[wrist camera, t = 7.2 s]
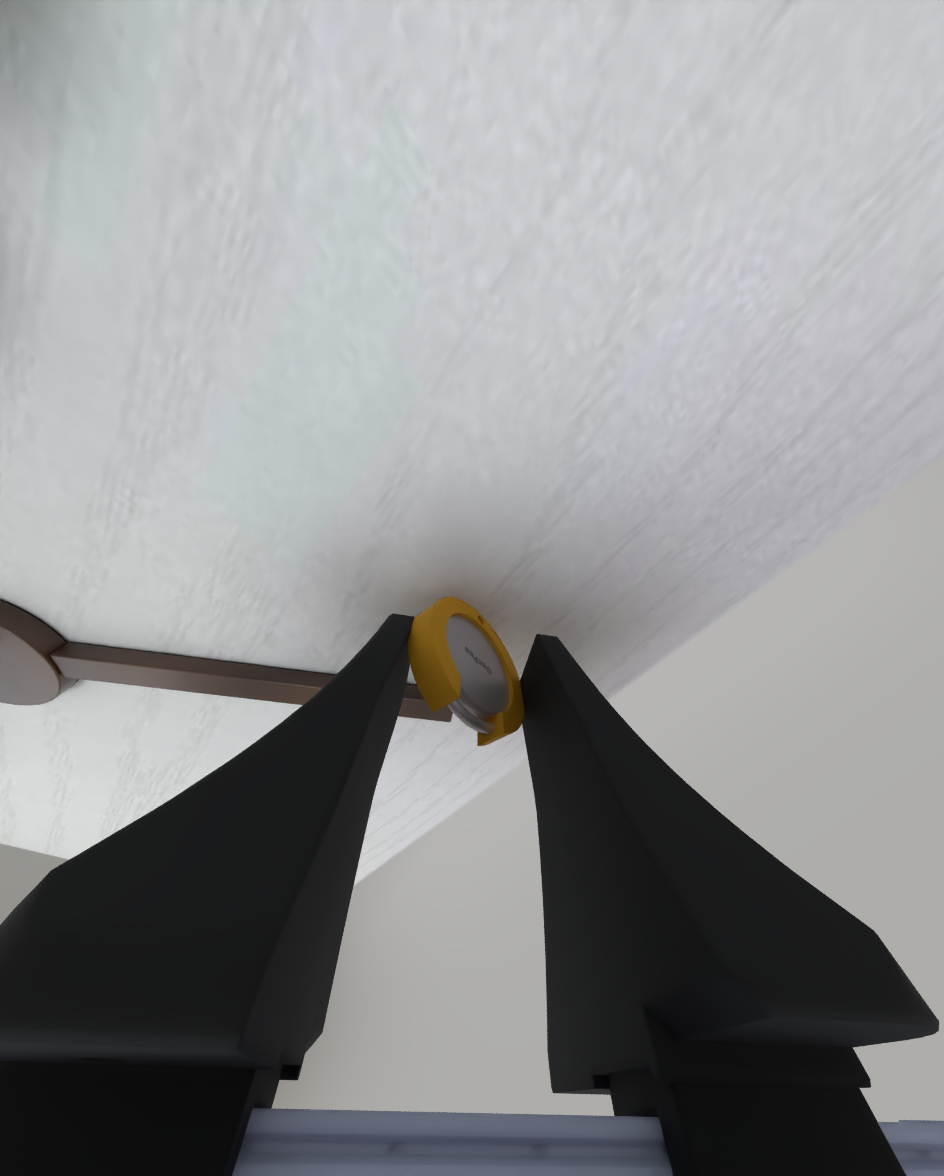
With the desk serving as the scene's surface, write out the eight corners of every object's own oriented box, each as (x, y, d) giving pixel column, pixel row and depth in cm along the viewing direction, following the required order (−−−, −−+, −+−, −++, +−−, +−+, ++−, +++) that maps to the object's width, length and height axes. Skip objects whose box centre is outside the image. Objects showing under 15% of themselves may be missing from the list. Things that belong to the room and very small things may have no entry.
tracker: (516, 650, 12) (532, 757, 8) (497, 661, 12) (506, 768, 9) (439, 573, 10) (422, 668, 7) (420, 588, 10) (394, 685, 7)
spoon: (463, 655, 12) (462, 671, 12) (446, 735, 15) (444, 752, 14) (-124, 577, 11) (-164, 590, 10) (-29, 681, 14) (-56, 697, 13)
